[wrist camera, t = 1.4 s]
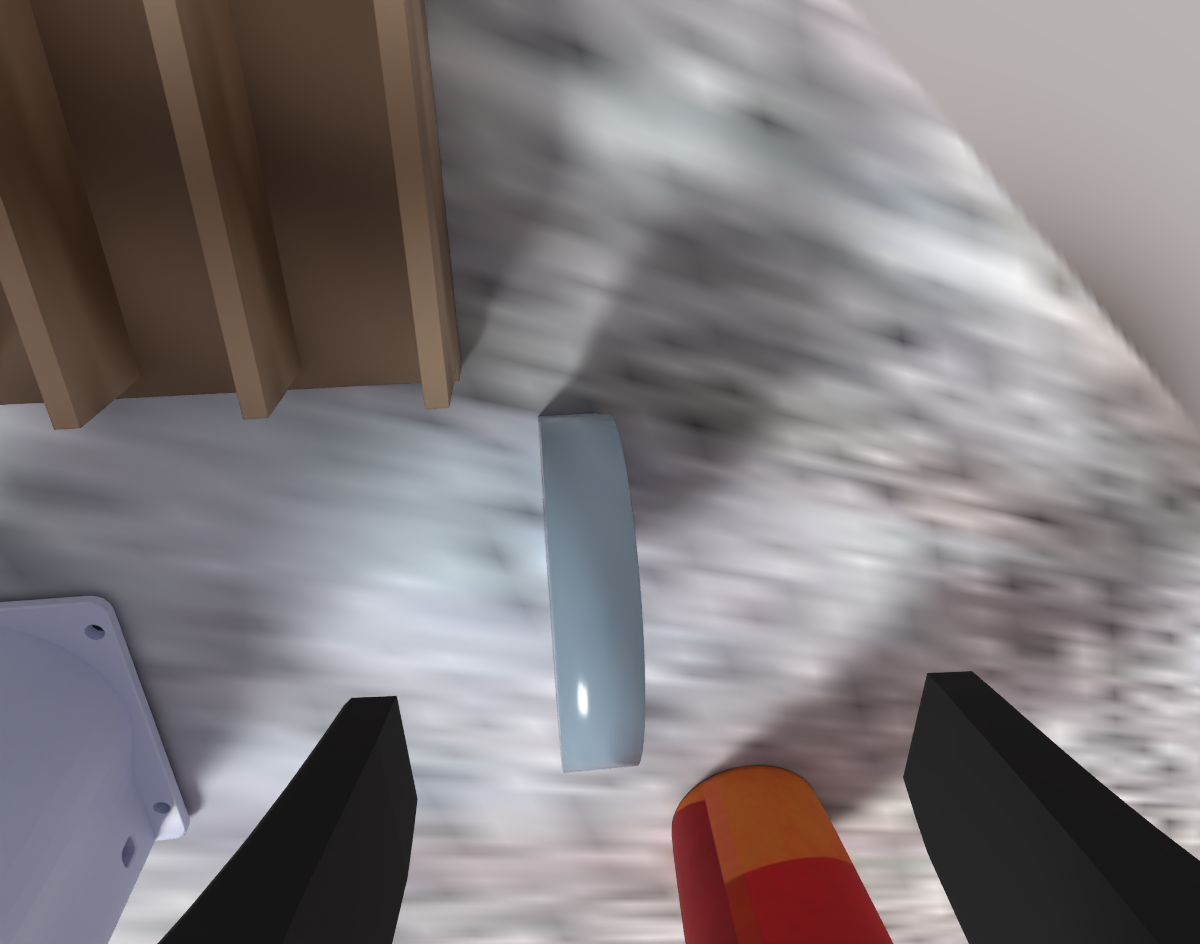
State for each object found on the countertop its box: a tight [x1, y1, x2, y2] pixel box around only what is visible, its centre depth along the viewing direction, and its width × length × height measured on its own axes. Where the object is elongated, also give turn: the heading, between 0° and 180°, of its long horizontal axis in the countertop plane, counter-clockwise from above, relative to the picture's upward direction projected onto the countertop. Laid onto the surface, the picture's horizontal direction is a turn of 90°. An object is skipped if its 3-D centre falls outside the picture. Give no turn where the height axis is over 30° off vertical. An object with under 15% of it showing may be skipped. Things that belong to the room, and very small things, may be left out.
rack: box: [0, 0, 461, 430], centre depth 16 cm, size 10×12×4 cm
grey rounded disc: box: [538, 413, 645, 773], centre depth 19 cm, size 8×2×8 cm, turn 1°
